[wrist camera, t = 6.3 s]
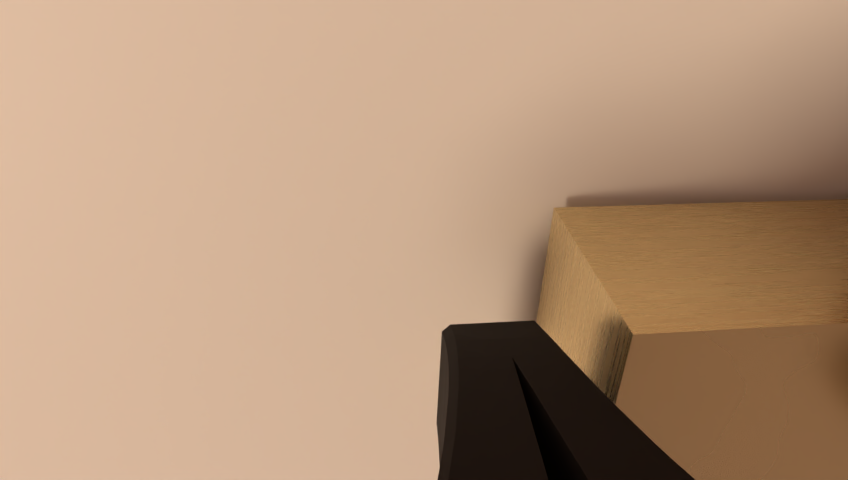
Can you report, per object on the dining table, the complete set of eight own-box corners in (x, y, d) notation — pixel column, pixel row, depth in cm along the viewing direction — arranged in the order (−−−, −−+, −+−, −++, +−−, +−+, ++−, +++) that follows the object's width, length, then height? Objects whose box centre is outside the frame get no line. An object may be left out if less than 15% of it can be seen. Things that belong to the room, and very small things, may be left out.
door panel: (727, 466, 15) (750, 501, 15) (28, 522, 14) (8, 567, 13) (953, -87, 9) (1016, -80, 8) (-265, -122, 7) (-344, -119, 7)
